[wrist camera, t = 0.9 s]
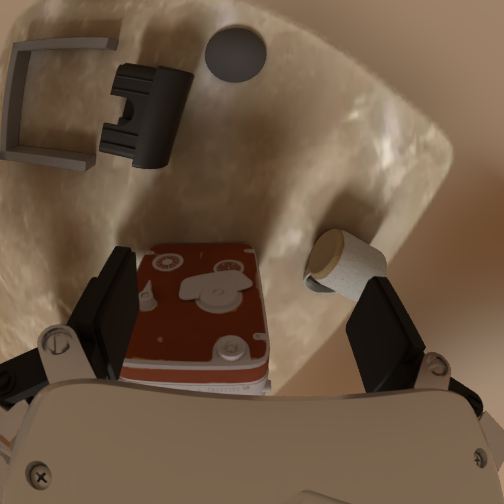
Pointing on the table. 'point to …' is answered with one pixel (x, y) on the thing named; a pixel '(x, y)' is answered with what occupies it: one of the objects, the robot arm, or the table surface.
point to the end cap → (147, 114)
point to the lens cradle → (8, 121)
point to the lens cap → (235, 55)
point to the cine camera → (200, 320)
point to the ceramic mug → (343, 265)
